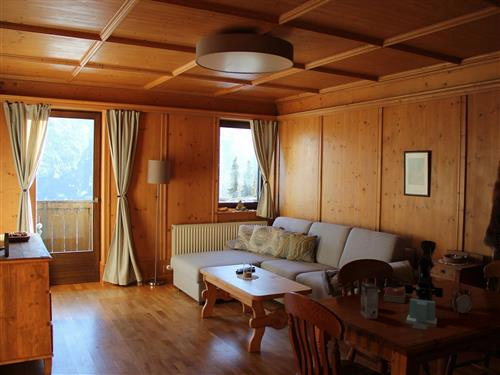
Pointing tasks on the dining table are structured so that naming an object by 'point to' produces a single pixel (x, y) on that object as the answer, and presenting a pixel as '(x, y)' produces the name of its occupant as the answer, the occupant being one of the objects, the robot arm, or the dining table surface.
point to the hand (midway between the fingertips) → (422, 304)
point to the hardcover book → (394, 295)
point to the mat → (421, 325)
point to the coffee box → (369, 300)
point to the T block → (422, 310)
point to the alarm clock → (461, 300)
